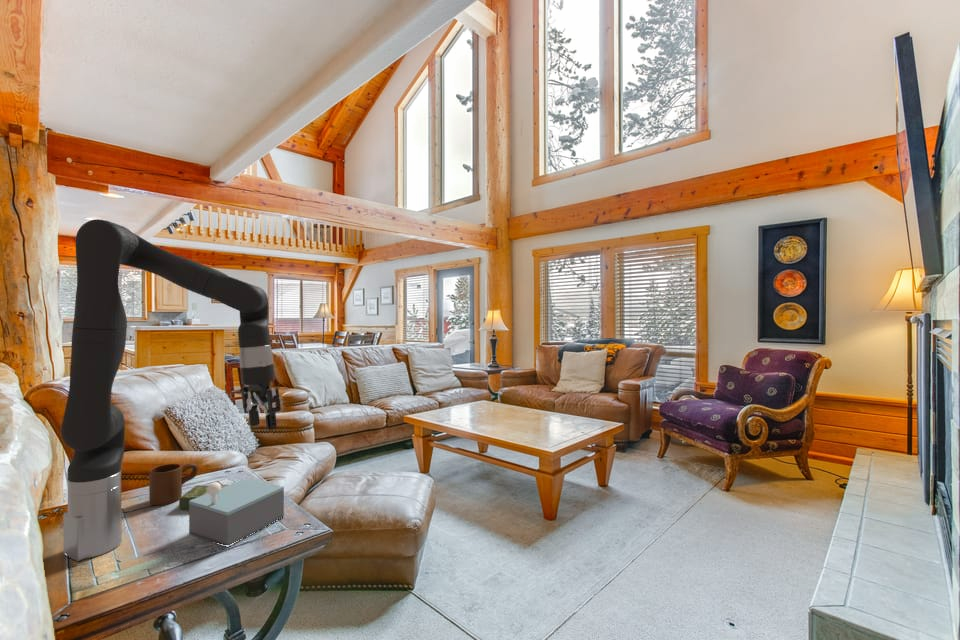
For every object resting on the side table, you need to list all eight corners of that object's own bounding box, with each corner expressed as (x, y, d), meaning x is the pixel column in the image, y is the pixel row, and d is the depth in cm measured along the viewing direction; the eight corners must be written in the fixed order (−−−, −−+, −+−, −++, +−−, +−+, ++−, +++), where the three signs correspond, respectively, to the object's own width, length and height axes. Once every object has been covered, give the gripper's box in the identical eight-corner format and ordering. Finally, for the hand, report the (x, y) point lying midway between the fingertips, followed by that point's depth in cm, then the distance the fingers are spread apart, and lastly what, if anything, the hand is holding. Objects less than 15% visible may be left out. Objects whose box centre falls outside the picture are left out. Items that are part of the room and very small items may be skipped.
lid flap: (227, 515, 100) (227, 490, 100) (189, 503, 106) (189, 479, 106) (283, 489, 115) (283, 467, 115) (247, 480, 120) (247, 459, 120)
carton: (239, 510, 119) (239, 495, 119) (178, 512, 118) (178, 496, 118) (252, 497, 128) (252, 483, 128) (195, 498, 126) (195, 484, 126)
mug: (194, 487, 133) (194, 457, 132) (202, 495, 128) (202, 463, 128) (146, 500, 124) (146, 468, 123) (153, 509, 119) (153, 475, 118)
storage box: (227, 547, 100) (227, 516, 100) (189, 534, 106) (189, 504, 106) (283, 517, 115) (283, 490, 115) (247, 507, 121) (247, 480, 120)
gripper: (228, 365, 109) (234, 428, 110) (256, 367, 101) (262, 435, 102) (257, 361, 115) (263, 420, 116) (286, 362, 107) (292, 426, 108)
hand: (263, 427), depth 109 cm, fingers open, 8 cm apart
